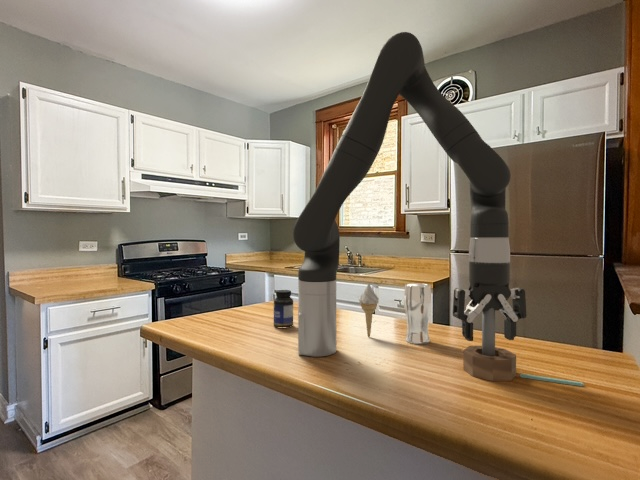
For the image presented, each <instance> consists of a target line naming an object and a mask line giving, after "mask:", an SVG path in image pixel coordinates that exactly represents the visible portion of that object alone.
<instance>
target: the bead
mask: <svg viewBox="0 0 640 480" xmlns="http://www.w3.org/2000/svg"><path fill="white" fill-rule="evenodd" d="M462 351H463V353H462V354H463V355H462V356H463V357H462V358H463V367H462V368H463V370H464V371H465V372H467V373H468V374H469V376H472V377H474V378H478V379H482V380H486V381H491V382H510V381H511V382H512V381H513V379H515V377H516V376H517V354H516V353H513V352H512V351H510V350H507V349H505V348H502V347H497V346H495V357H490V356H486V355H482V345H469V346H468V345H467V347H465V348H464V349H463V350H462Z"/></svg>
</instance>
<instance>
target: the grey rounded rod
mask: <svg viewBox="0 0 640 480" xmlns="http://www.w3.org/2000/svg"><path fill="white" fill-rule="evenodd" d="M481 346H482V355H486V356H490V357H495V347H496V310H494V309H493V308H491V309H489V311H484V310H482V311H481Z"/></svg>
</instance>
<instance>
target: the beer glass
mask: <svg viewBox="0 0 640 480" xmlns="http://www.w3.org/2000/svg"><path fill="white" fill-rule="evenodd" d="M431 285H432V284H428V283H423V282H422V283H421V282H420V283H419V282H412V283H411V282H410V283H409V282H408V283H405V284H404V293H403V294H404V296H403V303H404V304H403V305H404V311H405V319H406V324H407V325H406V327H407V328H406V335H405V341H406V342H407V343H408V344H413V345H421V346H422V345H427V344H429V343H430V342H431V341H430V336H429V335H430V333H429V323H430V322H429V321H430V316H431V312H432V311H431V310H432V291H431V290H432V289H431V288H432V287H431Z"/></svg>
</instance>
